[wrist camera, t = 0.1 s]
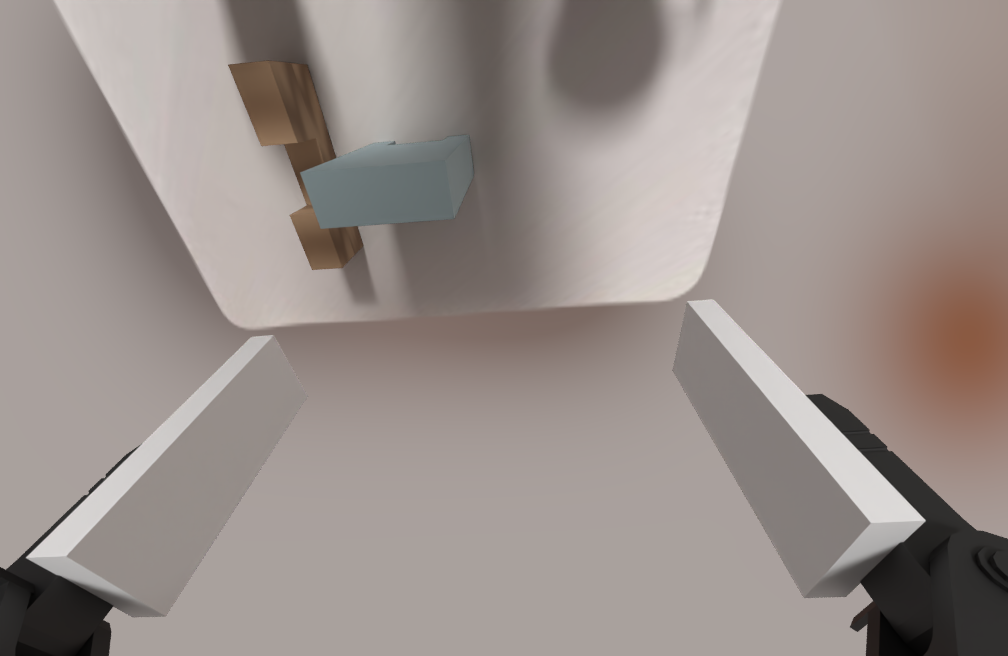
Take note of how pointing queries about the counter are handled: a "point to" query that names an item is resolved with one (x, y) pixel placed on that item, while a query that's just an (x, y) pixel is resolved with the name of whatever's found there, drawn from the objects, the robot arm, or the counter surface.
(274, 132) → the wooden u-shaped block
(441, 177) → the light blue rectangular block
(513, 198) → the counter surface
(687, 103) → the counter surface
